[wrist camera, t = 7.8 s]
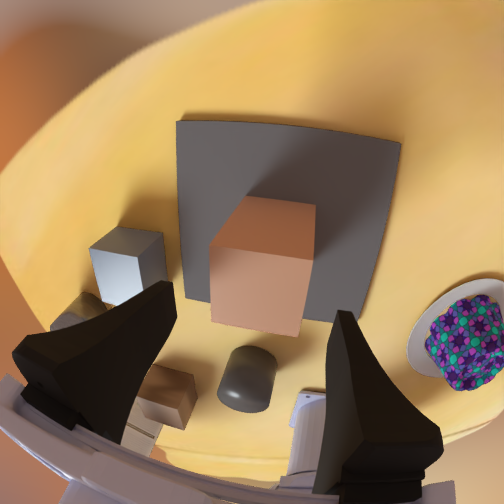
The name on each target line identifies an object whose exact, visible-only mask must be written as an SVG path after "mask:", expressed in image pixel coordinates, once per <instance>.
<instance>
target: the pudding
mask: <svg viewBox="0 0 504 504" xmlns="http://www.w3.org/2000/svg"><path fill="white" fill-rule="evenodd" d="M476 294H485V295H477V296H476V297H475V298H473V299H472V300H468V299H462V298H464V297H467V296H470V295H476ZM486 295H489V296H491V297H493V298H494V299H495V300H496V301H497V302H498V304H499V305H498V304H497V303H491V302H490V299H489V297H488V296H486ZM460 299H461V300H460ZM458 300H459V301H458ZM454 302H455V303H454ZM453 303H454V304H453ZM451 304H452V305H451ZM449 305H451V306H450V307H449V309H448V311H447V313H446V314H444V315H441V316H439V317H437V316H438V315H439V314H440V313H441V312H442V311H443V310H444V309H446V308H447V307H448V306H449ZM499 306H500V307H499ZM500 309H501V310H500ZM436 317H437V318H436ZM435 318H436V319H435ZM433 321H434V322H433ZM432 322H433V323H432ZM431 323H432V325H431ZM430 325H431V327H430ZM429 327H430V332H431V335H430V336H429V337H428V338H427V340H426V342H425V347H426V350H427V351H428V353H429V354H430V356H431V357H432V359H431V358H430V357H429V356H428V355H427V353H426V351H425V347H424V340H425V335H426V333H427V330H428V328H429ZM406 354H407V358H408V362H409V363H410V365H411V366H412V368H413V369H414V370H416V371H417V372H418V373H420V374H422V375H425V376H429V377H437V378H441V377H445V379H446V381H447V382H448V383H449V385H450V386H451V387H452V388H453V389H455V390H456V391H463V390H468V391H470V390H474V389H477V388H478V387H480V386H481V385H483V384H487V383H488V382H490V381H491V380H492V379H493V378H494V377H495V375H496V374H497V373H498V372H500V371H501V370H502V369H503V367H504V282H503V281H501V280H497V279H489V278H485V279H478V280H474V281H471V282H467V283H464V284H462V285H460V286H458V287H456V288H454V289H452V290H451V291H449V292H448V293H446V294H444V295H443V296H442V297H440V298H439V299H438V300H437V301H435V302H434V303H433V304H432V305H431V306H430V307H429V308H428V309H427V310H426V311H425V312H424V313H423V314H422V316H421V317H420V318H419V319H418V321H417V322H416V324H415V326H414V327H413V329H412V331H411V333H410V336H409V338H408V342H407V347H406Z"/></svg>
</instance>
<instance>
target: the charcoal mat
mask: <svg viewBox="0 0 504 504" xmlns="http://www.w3.org/2000/svg"><path fill="white" fill-rule="evenodd" d="M400 148H401V144H400V143H398V142H393V141H389V140H384V139H379V138H374V137H369V136H363V135H358V134H352V133H346V132H339V131H333V130H326V129H318V128H310V127H302V126H292V125H282V124H270V123H256V122H238V121H176V155H177V188H178V210H179V227H180V242H181V255H182V267H183V279H184V289H185V298H187V299H192V300H197V301H202V302H207V303H211V299H210V265H209V244H210V243H211V242H212V240H213V239H214V238H215V236H216V235H217V233H218V232H219V231H220V229H221V228H222V227H223V225H224V224H225V222H226V221H227V220H228V218H229V217H230V216H231V214H232V213H233V212H234V210H235V209H236V208H237V206H238V205H239V204H240V202H241V201H242V199H243V198H244V197H245V196H252V197H261V198H269V199H277V200H284V201H292V202H299V203H306V204H313V205H316V212H315V238H314V257H313V265H312V271H311V276H310V281H309V286H308V292H307V297H306V302H305V307H304V311H303V316H302V319H309V320H316V321H323V322H331V323H334V320H335V317H336V313H337V310H345V311H352V313H353V314H354V317H355V319H356V321H358V318H359V315H360V312H361V309H362V306H363V303H364V300H365V297H366V294H367V290H368V287H369V284H370V281H371V277H372V274H373V270H374V267H375V263H376V260H377V256H378V252H379V249H380V245H381V241H382V237H383V233H384V229H385V225H386V221H387V216H388V212H389V207H390V203H391V198H392V193H393V188H394V183H395V178H396V172H397V167H398V161H399V155H400Z"/></svg>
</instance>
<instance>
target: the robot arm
mask: <svg viewBox="0 0 504 504" xmlns="http://www.w3.org/2000/svg"><path fill="white" fill-rule="evenodd" d="M176 319H177V311H176V304H175V296H174V288H173V282H168V281H163V280H160V281H158V282H156V283H155V284H153V285H151V286H150V287H148V288H146V289H145V290H143V291H141V292H140V293H138V294H137V295H135V296H133V297H132V298H130V299H128V300H127V301H125V302H123V303H121V304H119V305H118V306H116V307H114V308H112V309H110V310H109V311H107V312H105V313H102V314H100V315H98V316H96V317H94V318H91V319H89V320H87V321H84V322H81V323H78V324H75V325H72V326H69V327H66V328H62V329H59V330H55V331H50V332H45V333H39V334H32V335H27V336H26V337H25V338H24V339H23V340H22V342H21V343H20V344H19V345H18V346H17V347H16V348H15V349H14V351H13V352H12V357H13V360H14V362H15V364H16V365H17V367H18V368H19V370H20V372H21V373H22V375H23V376H24V377H25V379H26V380H27V382H28V384H27V386H26V387H24V386H23V384H22V383H20V382H19V381H18V380H16V379H15V378H14V377H12V376H11V375H10V374H6V375H5V376H4V377H3V379H2V380H1V381H0V428H1V429H2V430H3V431H4V432H5V433H6V434H7V435H8V436H9V437H10V438H11V439H12V440H14V441H15V442H16V443H17V444H18V445H20V446H21V447H22V448H23V449H25V450H26V451H27V452H28V453H29V454H31V455H32V456H34V457H35V458H36V459H37V460H39V461H40V462H41V463H43V464H44V465H45V466H47V467H48V468H50V469H51V470H52V471H54V472H55V473H57V474H58V475H60V476H61V477H63V478H64V479H66V480H67V481H69V482H70V483H69V485H68V487H67V489H66V491H65V492H64V494H63V496H62V498H61V500H60V502H59V504H233V503H238V504H456V497H455V484H454V481H452V480H451V481H445V482H440V483H433V484H428V485H425V486H423V487H422V486H421V484H422V483H421V480H423V479H424V478H425V469H426V468H427V467H429V466H430V465H431V464H433V463H434V462H435V461H437V460H438V459H439V458H440V457H441V455H442V454H443V452H444V448H443V440H442V435H441V431H440V427H438V426H437V425H436V424H435V423H433V422H432V421H431V420H430V419H428V418H427V417H426V416H425V415H423V414H422V413H421V412H420V411H419V410H418V409H417V408H416V407H415V406H414V405H413V404H412V403H411V402H410V401H409V400H408V399H407V398H406V397H405V396H404V395H403V394H402V393H401V392H400V391H399V389H398V388H397V387H396V386H395V385H394V383H393V382H392V381H391V380H390V378H389V377H388V376H387V374H386V373H385V371H384V370H383V368H382V367H381V365H380V364H379V362H378V361H377V359H376V357H375V356H374V354H373V352H372V350H371V349H370V347H369V345H368V343H367V341H366V339H365V338H364V336H363V334H362V332H361V330H360V327H359V325H358V323H357V321H356V319H355V317H354V314H353V313H352V311H345V310H337V313H336V317H335V320H334V323H333V327H332V330H331V334H330V337H329V340H328V343H327V353H326V364H325V367H326V393H318V392H310V391H300V392H299V394H298V397H297V401H296V404H295V407H294V410H293V413H292V416H291V419H290V422H289V426H290V427H292V428H294V435H293V441H292V447H291V453H290V458H289V464H288V470H287V475H286V476H281V478H280V483H279V484H274V485H272V486H271V487H270V488H269V489H265V488H259V487H254V486H248V485H243V484H238V483H234V482H229V481H225V480H220V479H216V478H212V477H209V476H205V475H201V474H198V473H194V472H191V471H187V470H184V469H181V468H178V467H175V466H172V465H169V464H166V463H163V462H160V461H158V460H155V459H152V458H149V457H147V456H144V455H142V454H139V453H137V452H134V451H132V450H130V449H127V448H125V447H123V446H120V445H121V441H122V437H123V434H124V430H125V427H126V424H127V421H128V418H129V415H130V412H131V409H132V406H133V404H134V401H135V399H136V396H137V394H138V391H139V389H140V387H141V384H142V382H143V380H144V378H145V376H146V374H147V372H148V370H149V369H150V367H151V365H152V364H153V362H154V360H155V359H156V357H157V355H158V354H159V352H160V350H161V349H162V347H163V345H164V344H165V342H166V340H167V339H168V337H169V335H170V333H171V331H172V329H173V326H174V324H175V321H176ZM219 499H220V500H219ZM222 500H225V501H228V502H225V501H222ZM229 502H233V503H229Z"/></svg>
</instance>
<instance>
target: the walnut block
mask: <svg viewBox="0 0 504 504" xmlns="http://www.w3.org/2000/svg"><path fill="white" fill-rule="evenodd" d="M136 399H137V402H138V404H139V406H140V408H141V410H142V412H143V414H144V416H145V418H147V419H150V420H153V421H156V422H159V423H162V424H165V425H168V426H171V427H174V428H178V429H181V430H185V428H186V425H187V423H188V420H189V418H190V416H191V413H192V411H193V408H194V406H195V403H196V401H197V399H198V398H197V393H196V388H195V383H194V377H193V375H192V374H188V373H184V372H180V371H176V370H173V369H169V368H165V367H162V366H158V365H155V364H153V365H152V366H151V368H150V370H149V372H148V373H147V375H146V377H145V379H144V380H143V382H142V384H141V387H140V389H139V391H138V394H137V396H136Z"/></svg>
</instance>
